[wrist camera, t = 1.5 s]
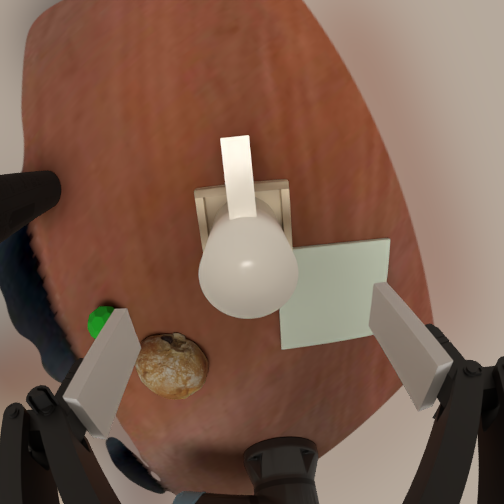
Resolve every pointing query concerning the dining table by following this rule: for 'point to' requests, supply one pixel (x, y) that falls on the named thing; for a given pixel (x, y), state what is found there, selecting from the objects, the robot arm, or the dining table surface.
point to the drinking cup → (25, 198)
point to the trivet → (333, 292)
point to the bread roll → (171, 366)
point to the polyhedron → (98, 319)
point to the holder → (267, 191)
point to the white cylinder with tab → (246, 246)
